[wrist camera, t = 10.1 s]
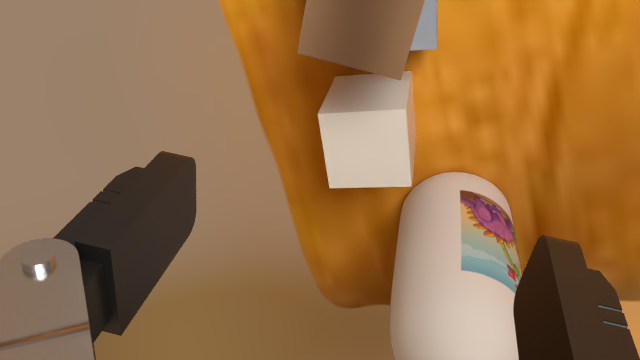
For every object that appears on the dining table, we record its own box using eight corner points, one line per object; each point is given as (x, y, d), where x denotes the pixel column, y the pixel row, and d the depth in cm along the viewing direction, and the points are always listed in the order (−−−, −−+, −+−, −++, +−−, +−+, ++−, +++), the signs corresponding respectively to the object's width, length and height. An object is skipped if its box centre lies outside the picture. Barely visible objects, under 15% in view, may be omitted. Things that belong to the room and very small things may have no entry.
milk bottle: (416, 262, 43) (398, 530, 26) (388, 180, 39) (345, 429, 23) (519, 246, 40) (571, 533, 23) (498, 157, 37) (542, 419, 20)
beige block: (411, 70, 35) (406, 109, 30) (416, 140, 37) (411, 186, 32) (335, 76, 36) (317, 113, 31) (344, 143, 39) (329, 188, 34)
